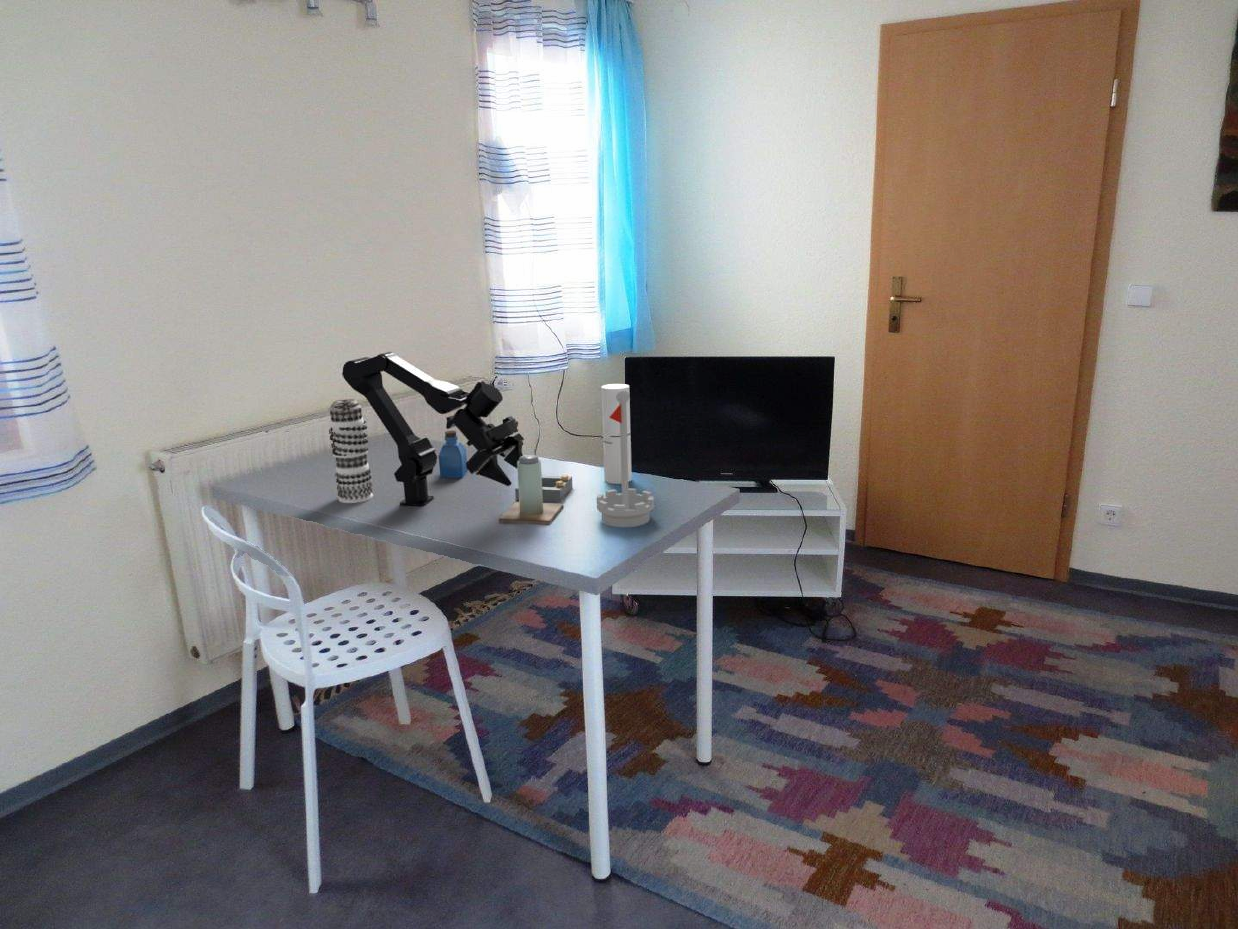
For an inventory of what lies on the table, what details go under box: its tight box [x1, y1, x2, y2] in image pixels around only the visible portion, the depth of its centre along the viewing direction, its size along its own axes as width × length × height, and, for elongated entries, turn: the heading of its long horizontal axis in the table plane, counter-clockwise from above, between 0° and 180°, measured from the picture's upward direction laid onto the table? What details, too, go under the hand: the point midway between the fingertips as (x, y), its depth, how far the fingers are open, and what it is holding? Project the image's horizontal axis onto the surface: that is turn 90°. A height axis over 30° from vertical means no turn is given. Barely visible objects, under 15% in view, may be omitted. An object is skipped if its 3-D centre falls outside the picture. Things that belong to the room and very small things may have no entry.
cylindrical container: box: [601, 383, 632, 485], centre depth 222 cm, size 7×7×25 cm
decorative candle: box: [327, 398, 374, 504], centre depth 213 cm, size 9×9×25 cm
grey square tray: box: [514, 475, 573, 503], centre depth 215 cm, size 12×12×4 cm
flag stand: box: [596, 390, 655, 528], centre depth 191 cm, size 13×13×30 cm
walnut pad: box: [498, 501, 564, 525], centre depth 200 cm, size 12×12×1 cm
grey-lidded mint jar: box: [516, 454, 544, 515], centre depth 198 cm, size 6×6×13 cm
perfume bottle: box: [438, 430, 468, 479], centre depth 233 cm, size 6×6×12 cm
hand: (519, 479), depth 199 cm, fingers open, 9 cm apart
